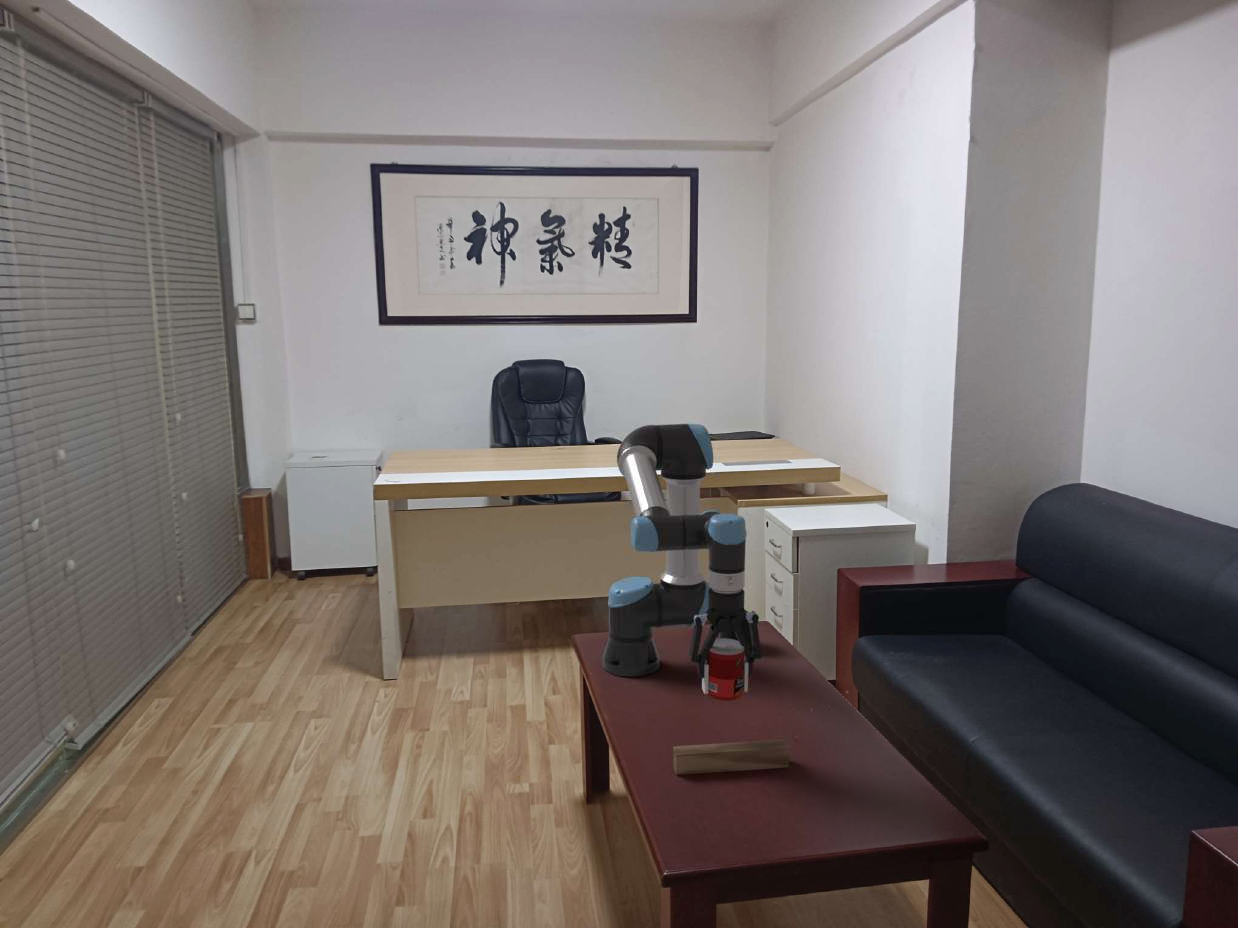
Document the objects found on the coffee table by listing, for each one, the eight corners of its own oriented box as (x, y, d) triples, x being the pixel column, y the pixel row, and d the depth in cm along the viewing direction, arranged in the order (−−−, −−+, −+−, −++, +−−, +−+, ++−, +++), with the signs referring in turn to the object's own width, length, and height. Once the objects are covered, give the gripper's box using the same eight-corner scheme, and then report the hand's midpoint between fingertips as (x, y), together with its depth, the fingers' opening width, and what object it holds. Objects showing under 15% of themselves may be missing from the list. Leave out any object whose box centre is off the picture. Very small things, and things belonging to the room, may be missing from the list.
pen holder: (718, 651, 247) (718, 617, 245) (720, 639, 256) (720, 606, 254) (752, 654, 246) (753, 619, 244) (753, 641, 255) (754, 607, 253)
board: (673, 766, 188) (673, 746, 187) (783, 758, 191) (784, 739, 190) (676, 774, 185) (676, 754, 184) (788, 766, 187) (789, 747, 186)
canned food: (742, 702, 187) (743, 653, 185) (704, 699, 188) (704, 650, 186) (744, 687, 194) (745, 639, 192) (708, 684, 196) (708, 636, 194)
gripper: (681, 596, 182) (680, 700, 186) (779, 591, 184) (777, 694, 189) (674, 584, 189) (673, 685, 194) (769, 580, 192) (767, 679, 196)
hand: (724, 689), depth 191 cm, fingers closed on canned food, 8 cm apart
